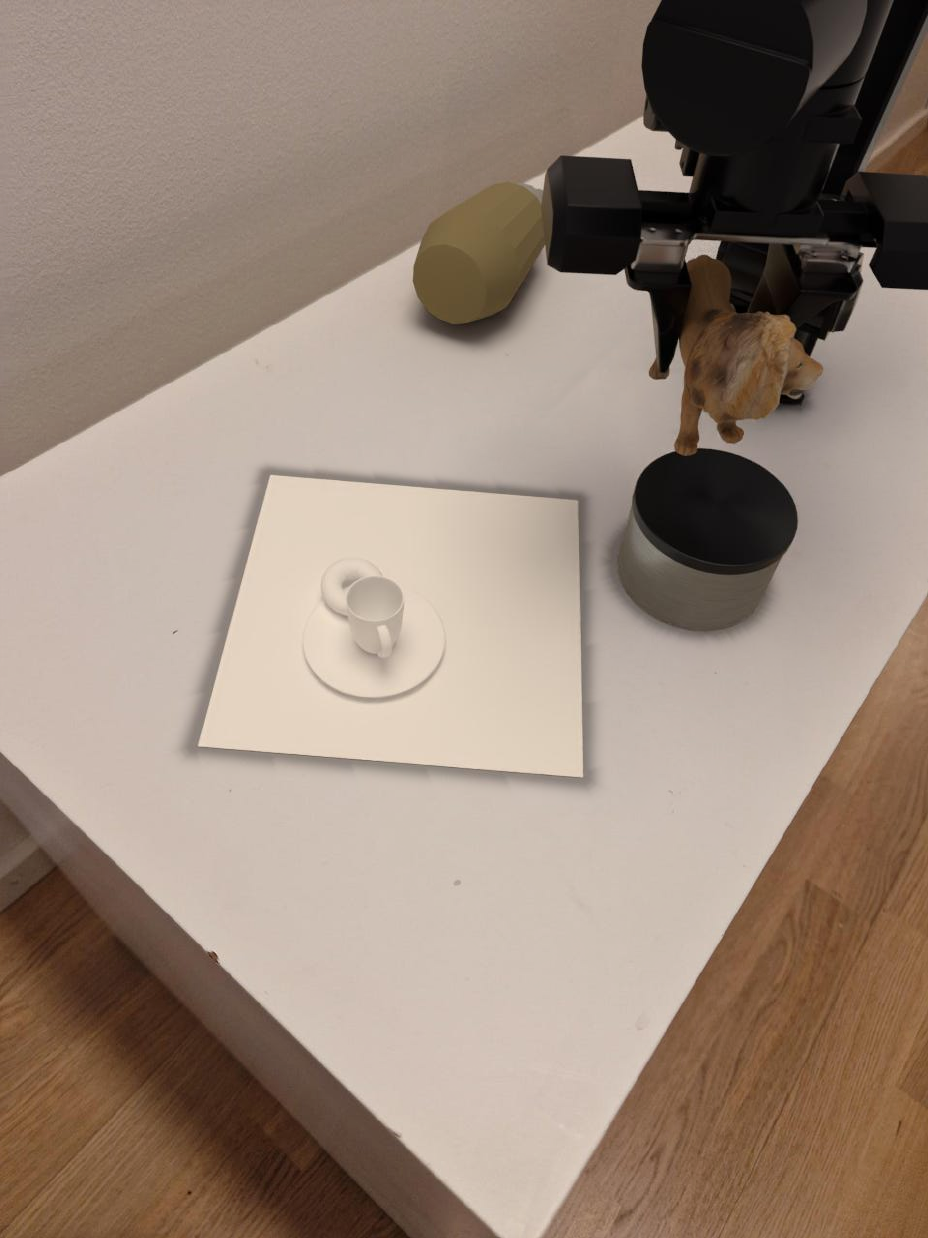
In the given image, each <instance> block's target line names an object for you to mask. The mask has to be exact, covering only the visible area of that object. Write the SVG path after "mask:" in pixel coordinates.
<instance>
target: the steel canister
mask: <svg viewBox="0 0 928 1238" xmlns="http://www.w3.org/2000/svg"><path fill="white" fill-rule="evenodd" d="M631 501H632V502H631V507H630V510H629V514H628V518H627V520H626V525H625V528H624V531H623V536H622V539H621V543H620V546H619V549H618V553H617V557H616V559H617V560H616V568H617V574H618V578H619V581H620V584H621V585H622V588H623V589H624V590H625V592H626V594H627V595H628V596H629V598H630V599H631V600H632V601H633V602H634V603H635V604H636V605H637V606H638V608H640V609H642V611H643V612H645V613H647V614H648V615H650V616H651V617H653V618H655V619H656V620H658V621H660V622H663V623H665V624H667V625H670V626H672V627H675V628H680V629H685V630H691V631H701V632H709V631H718V630H724V629H727V628H731V627H733V626H736V625H738V624H739V623H741V622H743V621H744V620H746V619H747V618H749V616H751V615H752V614H753V613H754V612H755V610H756V609H757V608H758V606H759V604H760V602H761V601H762V600H763V599H762V598H763V596H764V595H765V593H766V591H767V588H768V586H769V584H770V582H771V581H772V578H773V576H774V574H775V573H776V572H777V569H778V567H779V565H780V564H781V563H780V562H781V560H782V558H783V556H784V555H785V554H786V553H787V552H788V551H789V548H790V547H791V545H792V543H793V541H794V539H795V537H796V535H797V531H798V525H799V516H798V515H799V514H798V509H797V506H796V504H795V501H794V499H793V496H792V495H791V493H790V492H789V490H788V488H786V486H785V485H784V484H783V482H782V481H781V480H780V479H778V477H777V476H776V475H774V474H773V473H772V472H771V471H769V470H768V469H767V468H765V467H763V466H762V465H761V464H759V463H757V462H755V461H754V460H752V459H749V458H747V457H744V456H743V455H740V454H737V453H735V452H731V451H726V450H722V449H715V448H707V447H697V452H696V453H695V454H692V455H689V456H684V455H681V454H679V453H677V452H676V451H675V450H674V451H671V452H668V453H665V454H663V455H660V456H658V457H657V458H655V459H654V460H653V461H651V462H650V463H649V464H648V465H647V466H646V467H644V468H643V470H642V471H641V473H640V474H639V476H638V478H637V480H636V483H635V487H634V491H633V493H632V499H631Z"/></svg>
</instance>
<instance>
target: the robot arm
mask: <svg viewBox="0 0 928 1238" xmlns="http://www.w3.org/2000/svg"><path fill="white" fill-rule="evenodd" d="M927 33H928V0H660V2H659V3H658V6H657V8H656V10H655V12H654V14H653V16H652V18H651V20H650V21H649V22H648V24H647V26H646V29H645V34H644V36H643V40H642V41H643V42H642V51H641V52H642V53H641V74H642V75H641V76H642V79H643V80H642V83H643V88H644V91H645V100H644V108H643V117H642V121H643V126H644V128H645V129H647V130H649V131H652V132H662V133H669V135H670V136H672V137H673V139H674V141H675V142H674V149H675V150H677V151H681V153H680V154H681V155H680V158H679V163H678V164H679V168H680V171H681V174H682V177H691V178H692V179H691V183H690V187H689V191H688V192H686V191H685V192H683V191H664V190H646V189H639V186H638V182H637V178H636V174H635V170H634V165H633V160H632V158H616V157H615V158H614V157H599V156H598V157H596V156H582V155H581V156H580V155H579V156H578V155H565V154H564V155H559V157H557V158H556V159H555V161H554V162H552V164H550V166H549V167H548V168H547V169H546V172H545V174H544V181H543V189H542V190H543V196H542V204H541V210H542V220H543V229H544V238H545V246H544V248H545V257H546V264H547V265H546V266H548V267H550V268H552V269H554V270H555V271H557V272H559V273H564V274H565V273H566V274H567V273H569V274H584V275H585V274H586V275H587V274H588V275H606V276H607V275H609V276H617V275H618V274H619V273H621V272H623V271H624V276H625V280H626V284H627V286H628V287H629V288H631V289H632V290H635V291H639V292H647V293H648V295H649V299H650V309H651V317H652V327H653V328H652V329H653V337H654V338H653V339H654V348H655V349H654V350H655V358H656V360H657V366H658V370H659V373H667V371H668V369H669V367H670V366H671V364H672V363H673V361H674V358H675V355H676V351H677V348H678V347H677V346H678V344H679V335H680V331H681V327H682V324H683V320H684V316H685V312H686V308H687V304H688V300H689V296H690V292H691V288H692V283H691V279H690V275H689V272H688V268H687V264H686V263H687V261H686V257H687V253H688V249H689V245H691V243H692V241H715V242H720V243H719V245H718V248H717V253H716V257H715V259H717V260H719V261H721V262H722V263H723V264H725V265H726V266H727V268H728V270H729V272H730V276H731V289H730V297H729V303H730V305H731V307H732V309H733V311H734V312H735V313H739V314H742V313H754V314H755V313H756V312H762V313H765V312H769V313H770V315H787V316H789V318H790V321H791V322H792V323H793V324H794V325H795V327H796V332H795V334H794V339H796V340H798V341H799V342H800V343H801V344H802V345H803V348H804V351H805V353H806V354H807V355H808V356H810V357H811V356H812V354H813V351H814V349H815V347H816V344H817V342H818V340H821V341H824V342H825V341H826V340H827V339H828V336H829V335H830V333H833V334H834V333H836V332H844V331H845V329H846V328H847V325H848V323H849V321H850V319H851V317H852V315H853V312H854V310H855V307H856V305H857V304H858V300H859V297H860V294H861V290H862V287H863V285H864V277H863V275H862V269H863V263H864V258H865V253H864V252H862V251H861V250H862V248H871V249H875V250H874V253H873V254H872V257H871V259H870V262H869V264H868V266H869V268H870V270H871V272H872V274H873V276H874V278H875V279H876V281H877V282H878V285H879V286H880V288H881V289H895V290H914V291H917V290H918V291H928V175H925V174H924V175H923V174H909V173H908V174H907V173H892V172H891V173H887V172H874V171H873V172H872V171H871V172H870V171H866V169H867V167H868V165H869V162H870V160H871V158H872V156H873V154H874V151H875V149H876V147H877V145H878V143H879V141H880V138H881V135H882V134H883V131H884V129H885V127H886V125H887V122H888V120H889V118H890V116H891V113H892V111H893V109H894V107H895V104H896V103H897V100H898V98H899V95H900V94H901V91H902V89H903V87H904V85H905V83H906V80H907V78H908V76H909V73H910V72H911V69H912V67H913V65H914V63H915V60H916V58H917V56H918V54H919V52H920V49H921V47H922V45H923V42H924V41H925V38H926V36H927ZM805 398H806V394H805V392H804V391H803V393H802V395H801V396H800V397H799V398H797V399H793V398H791V397H789V396H787V395H784V394H781V396H780V400H779V405H801V404H803V402H804V400H805Z"/></svg>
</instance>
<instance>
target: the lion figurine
mask: <svg viewBox="0 0 928 1238" xmlns="http://www.w3.org/2000/svg"><path fill="white" fill-rule="evenodd" d="M686 264H687V268H688V272H689V275H690V279H691V283H692V288H691V292H690V296H689V300H688V304H687V308H686V312H685V316H684V320H683V324H682V327H681V331H680V335H679V339H678V344H679V345H678V346H679V351H680V357H681V360H682V363H683V366H684V375H683V391H682V395H681V402H680V406H681V407H680V408H681V409H680V424H679V425H680V426H679V431H678V435H677V437H676V439H675V442H674V444H673V449H674V451H676V452H677V453H679V454H681V455H684V456H689V455H692V454H695V453H696V452H697V448H698V443H699V442H700V432H699V420H700V417H701V414H702V412H704V413H707V414H708V415H709V417H710V418H711V419H712V420H713V421H714V422H715V423H716V431H717V432H718V434H719V437H720V439H721V440H722V441H723V442H725V444H731V445H735V444H737V443H739V442H741V441H742V440H743V439H744V436H745V431H744V429H743V428H742V427H740V426H738V425H737V421H743V420H745V419H749V420H750V419H751V420H753V421H758V420H760V419H765V418H766V417H767V416H769V415H770V414H773V413H775V412H776V410H777V408H778V406H779V405H780V404H779V400H780V396H781V394H784V395H787V396H789V397H791V398H793V399H797V398H799V397H800V396H801V395H802V393H803V392H804V391H805V390H809V389H811V388H812V387H813V385H814V384H815V383H816V381H817V380H818V378H819V377H820V376H822V374H823V372H824V367H823V364H821V362H818V361H816V360H815V359H813V357H811V356H808V355H807V354H806V353H805V351H804V348H803V345H802V344H801V343H800V342H799V341H798V340H796V339H794V334H795V332H796V327H795V325H794V324H793V323H792V322H791V321H790V318H789V316H787V315H770V313H769V312H765V313H762V312H756V313H755V314H754V313H742V314H739V313H735V312H734V311H733V309H732V307H731V305H730V303H729V297H730V289H731V276H730V272H729V270H728V268H727V266H726V265H725V264H723V263H722V262H721V261H719V260H717V259H716V258H713V257H711V256H709V255H708V254H700V255H698V256H697V257H695V258H692V259H689V260H688V261H686ZM670 370H671V368H670V367H669V369H668V371H667V373H659V370H658V366H657V360H656V357H655V359H654V360H653V362H652V364H651V365H650V367H649V369H648V377H649V378H651V379H652V380H654V381H658V380H667V378H668V377H669V376H670V374H671V373H670V372H671V371H670Z"/></svg>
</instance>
